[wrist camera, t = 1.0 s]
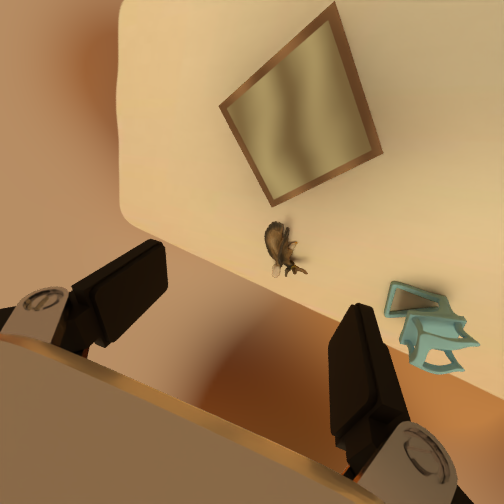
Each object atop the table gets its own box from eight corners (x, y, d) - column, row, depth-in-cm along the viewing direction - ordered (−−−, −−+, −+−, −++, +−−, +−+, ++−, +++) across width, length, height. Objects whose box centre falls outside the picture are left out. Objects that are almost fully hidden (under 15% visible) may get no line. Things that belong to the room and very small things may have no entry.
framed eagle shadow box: (333, 21, 23) (334, -2, 19) (376, 150, 27) (384, 153, 23) (232, 109, 30) (216, 105, 26) (278, 199, 35) (271, 208, 31)
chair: (436, 320, 36) (477, 389, 27) (383, 313, 39) (401, 374, 29) (451, 285, 33) (505, 351, 23) (391, 280, 36) (415, 337, 26)
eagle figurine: (319, 257, 36) (298, 217, 32) (297, 287, 34) (271, 248, 30) (289, 253, 43) (267, 219, 39) (268, 278, 40) (243, 244, 36)
